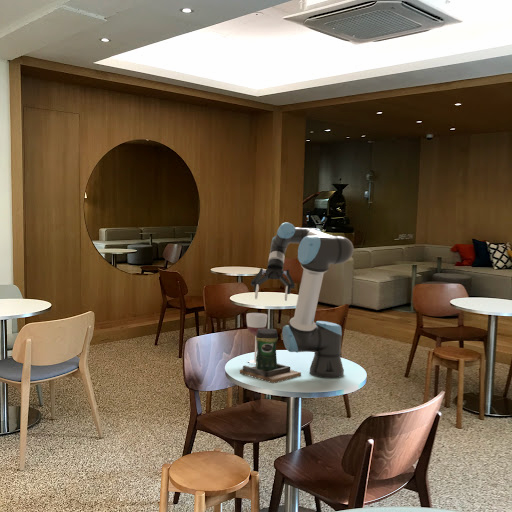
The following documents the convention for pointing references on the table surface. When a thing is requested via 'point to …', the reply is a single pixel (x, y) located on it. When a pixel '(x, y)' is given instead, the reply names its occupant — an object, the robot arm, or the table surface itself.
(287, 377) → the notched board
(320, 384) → the table surface
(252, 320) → the wineglass
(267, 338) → the coffee jar
